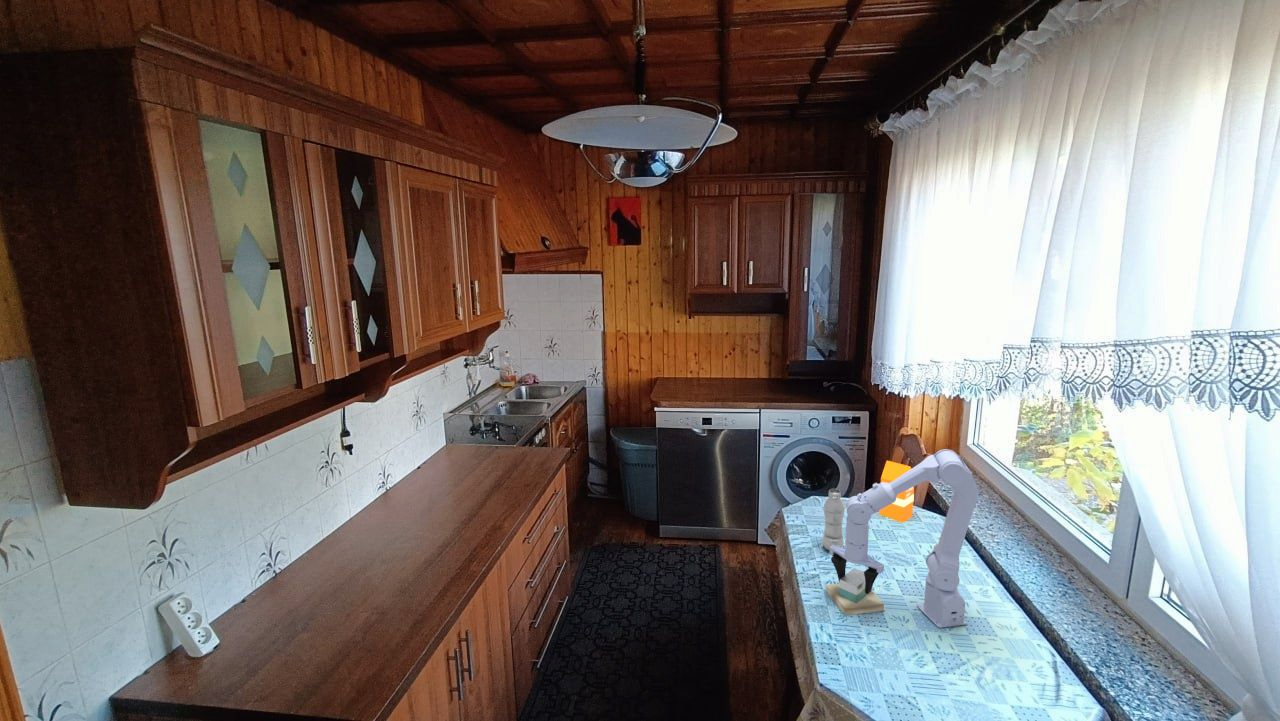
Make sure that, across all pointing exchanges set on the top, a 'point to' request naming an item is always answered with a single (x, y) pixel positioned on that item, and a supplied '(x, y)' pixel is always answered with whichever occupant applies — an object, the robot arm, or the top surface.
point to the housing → (853, 586)
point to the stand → (848, 607)
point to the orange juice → (904, 500)
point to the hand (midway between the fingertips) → (854, 586)
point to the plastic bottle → (833, 520)
